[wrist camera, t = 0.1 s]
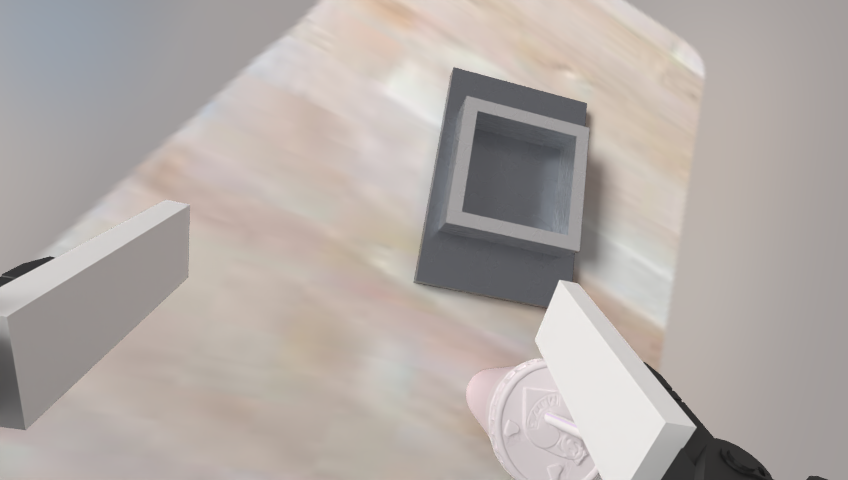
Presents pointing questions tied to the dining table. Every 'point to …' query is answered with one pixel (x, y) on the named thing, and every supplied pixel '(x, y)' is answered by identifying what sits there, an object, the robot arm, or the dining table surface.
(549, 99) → the collar
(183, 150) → the dining table surface
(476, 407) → the smoothie
